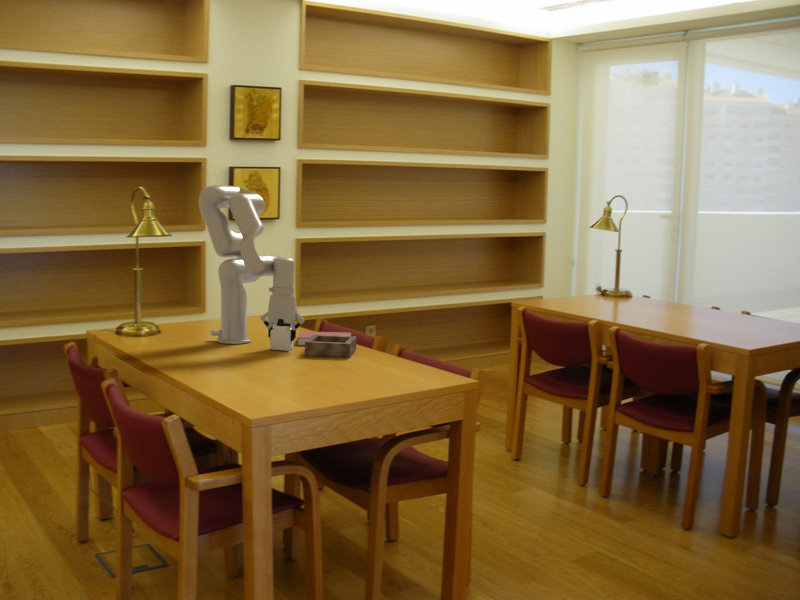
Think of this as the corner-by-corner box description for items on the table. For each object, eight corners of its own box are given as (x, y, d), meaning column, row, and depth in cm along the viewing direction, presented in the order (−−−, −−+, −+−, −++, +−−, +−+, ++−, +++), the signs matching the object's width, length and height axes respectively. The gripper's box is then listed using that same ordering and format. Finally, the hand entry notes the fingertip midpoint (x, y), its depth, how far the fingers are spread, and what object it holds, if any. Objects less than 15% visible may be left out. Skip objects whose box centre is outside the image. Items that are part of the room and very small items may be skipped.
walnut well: (304, 355, 295) (304, 342, 294) (313, 347, 310) (313, 334, 310) (349, 358, 293) (349, 343, 293) (356, 349, 309) (356, 336, 308)
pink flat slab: (297, 345, 314) (297, 337, 314) (299, 339, 329) (299, 331, 328) (350, 346, 315) (350, 338, 315) (350, 340, 330) (350, 332, 329)
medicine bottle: (293, 347, 309) (294, 315, 307) (289, 351, 302) (290, 318, 300) (274, 346, 310) (275, 314, 308) (269, 349, 303) (270, 317, 301)
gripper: (257, 291, 300) (255, 340, 302) (304, 294, 298) (303, 343, 301) (262, 289, 307) (261, 336, 310) (309, 291, 306) (307, 339, 308)
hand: (281, 339), depth 305 cm, fingers closed on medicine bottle, 7 cm apart
